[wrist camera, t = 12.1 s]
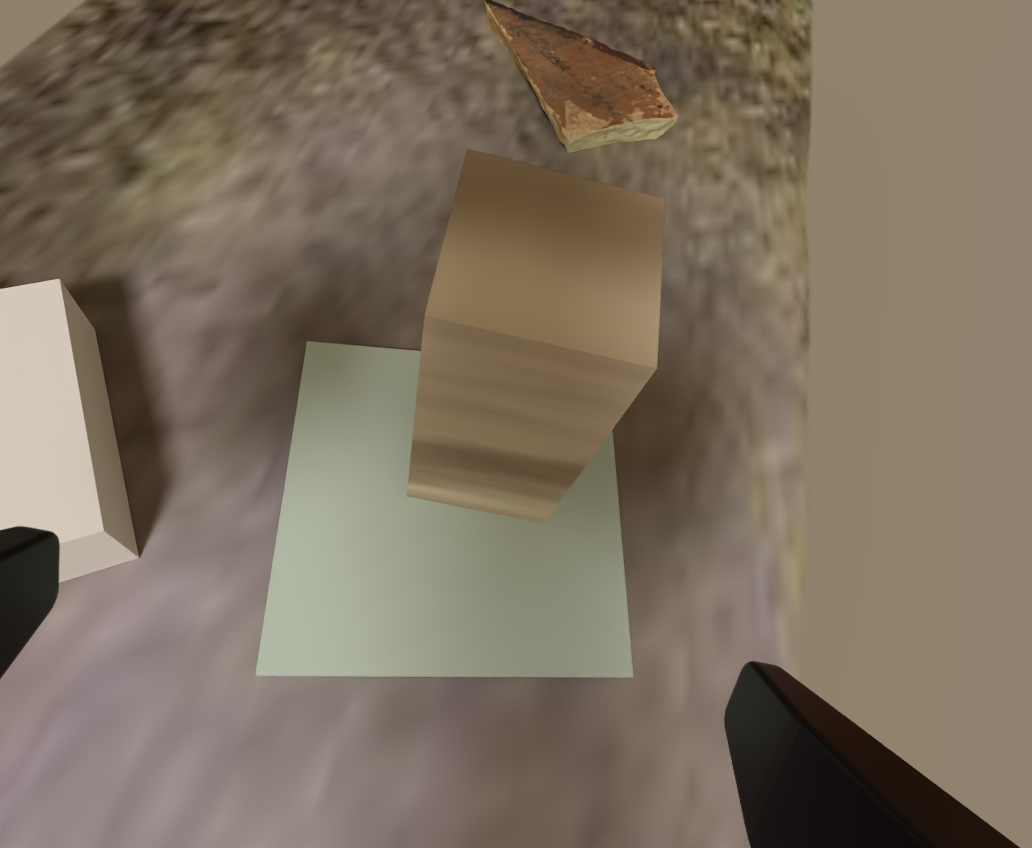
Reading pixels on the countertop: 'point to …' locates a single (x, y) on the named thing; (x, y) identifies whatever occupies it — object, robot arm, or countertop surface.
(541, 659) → the mat
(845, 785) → the robot arm
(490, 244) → the oak block
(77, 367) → the stand
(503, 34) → the shard
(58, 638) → the countertop surface
